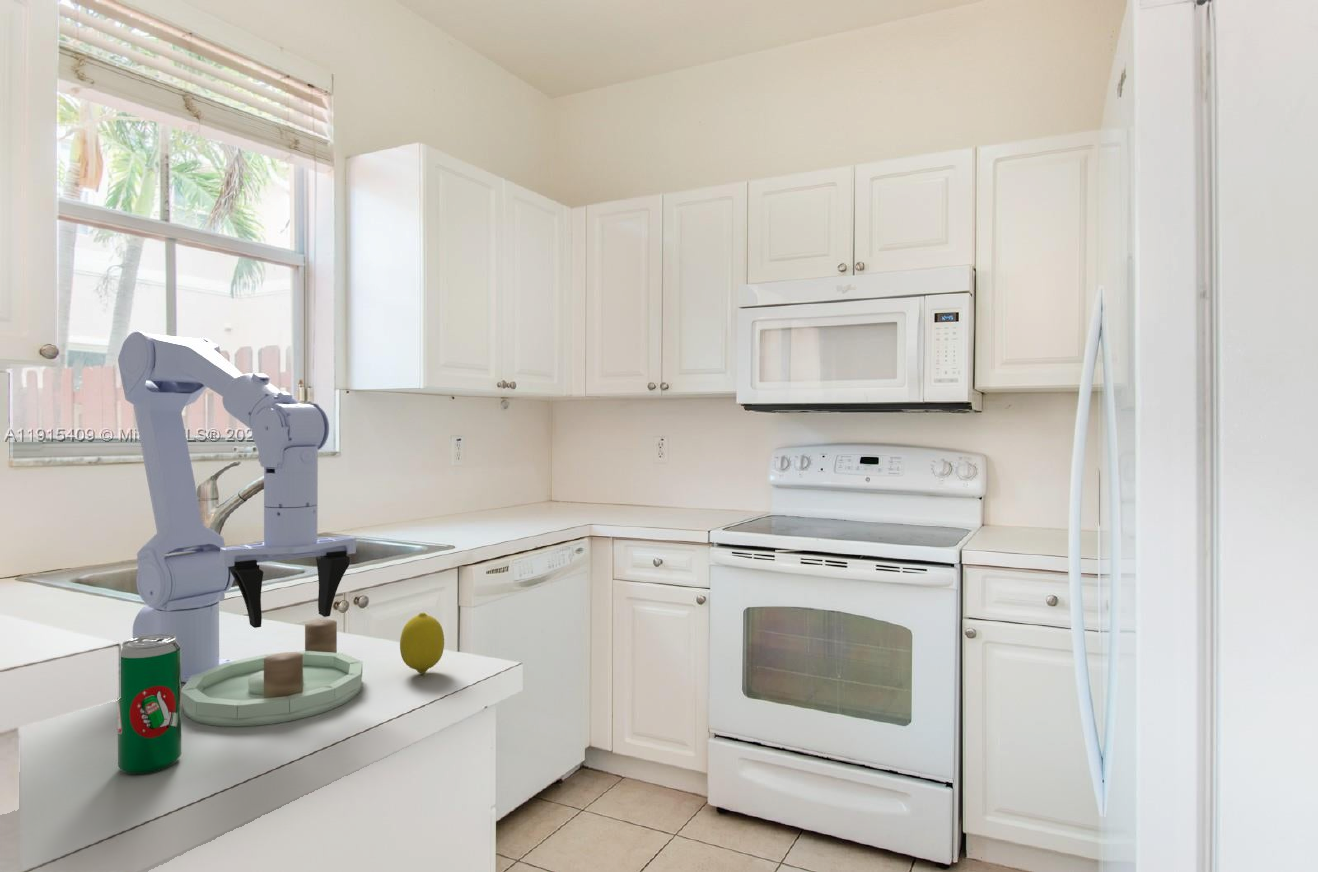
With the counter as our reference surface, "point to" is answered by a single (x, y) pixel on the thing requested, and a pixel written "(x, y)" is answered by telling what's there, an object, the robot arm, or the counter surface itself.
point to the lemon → (422, 642)
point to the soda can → (149, 704)
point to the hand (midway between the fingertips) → (290, 620)
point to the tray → (240, 691)
